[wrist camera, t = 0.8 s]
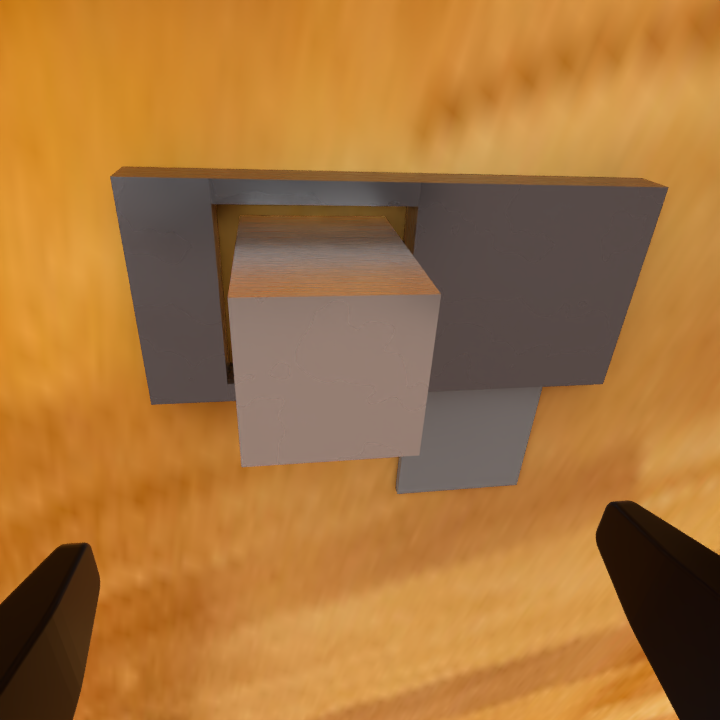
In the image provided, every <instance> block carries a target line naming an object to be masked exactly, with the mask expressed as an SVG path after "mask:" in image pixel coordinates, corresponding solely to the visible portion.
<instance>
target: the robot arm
mask: <svg viewBox="0 0 720 720" xmlns="http://www.w3.org/2000/svg"><path fill="white" fill-rule="evenodd" d="M596 542H597V546H598V549H599V551H600V554H601V556H602V559H603V561H604V563H605V566H606V568H607V571H608V573H609V576H610V578H611V580H612V583H613V585H614V588H615V590H616V593H617V595H618V598H619V600H620V602H621V605H622V607H623V610H624V612H625V614H626V617H627V619H628V621H629V623H630V626H631V628H632V630H633V632H634V634H635V636H636V638H637V640H638V642H639V644H640V645H641V647H642V649H643V651H644V653H645V655H646V657H647V659H648V661H649V663H650V665H651V666H652V668H653V670H654V672H655V674H656V676H657V678H658V680H659V682H660V684H661V686H662V687H663V689H664V691H665V693H666V695H667V697H668V699H669V701H670V703H671V705H672V707H673V708H674V710H675V712H676V714H677V716H678V718H679V720H720V555H718V554H717V553H715V552H713V551H712V550H710V549H709V548H707V547H705V546H704V545H702V544H701V543H699V542H697V541H696V540H694V539H693V538H691V537H689V536H688V535H686V534H685V533H683V532H681V531H680V530H678V529H677V528H675V527H673V526H672V525H670V524H669V523H667V522H665V521H664V520H662V519H661V518H659V517H657V516H656V515H654V514H653V513H651V512H649V511H648V510H646V509H645V508H643V507H642V506H640V505H638V504H637V503H635V502H633V501H615V502H610V503H609V504H608V505H607V506H606V508H605V511H604V513H603V516H602V518H601V521H600V523H599V526H598V528H597V531H596ZM99 591H100V576H99V572H98V569H97V565H96V562H95V558H94V555H93V552H92V548H91V546H90V545H89V544H88V543H71V544H63V545H60V546H59V547H57V548H56V549H55V550H54V551H53V552H52V553H51V554H50V555H49V556H48V557H47V558H46V559H45V560H44V561H43V562H42V563H41V564H40V565H39V566H38V567H37V568H36V569H35V570H34V571H33V572H32V573H31V574H30V575H29V576H28V577H27V578H26V579H25V580H24V581H23V582H22V583H21V584H20V585H19V586H18V587H17V588H16V589H15V590H14V591H13V592H12V593H11V594H10V595H9V596H8V597H7V598H6V599H5V600H4V601H3V602H2V603H1V604H0V720H73V717H74V714H75V710H76V707H77V703H78V699H79V696H80V692H81V688H82V683H83V678H84V673H85V667H86V662H87V656H88V651H89V646H90V640H91V635H92V629H93V624H94V618H95V613H96V607H97V602H98V596H99Z"/></svg>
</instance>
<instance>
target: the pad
mask: <svg viewBox="0 0 720 720" xmlns="http://www.w3.org/2000/svg"><path fill="white" fill-rule="evenodd" d="M541 391H542V387H525V388H504V389H482V390H460V391H438V392H428V395H427V402H426V410H425V417H424V424H423V432H422V439H421V446H420V454H419V456H404V457H399V463H398V472H397V481H396V491H397V494H403V493H416V492H429V491H442V490H455V489H468V488H481V487H494V486H507V485H517V481H518V477H519V473H520V469H521V466H522V462H523V458H524V454H525V451H526V447H527V443H528V439H529V436H530V432H531V428H532V424H533V421H534V417H535V413H536V409H537V406H538V402H539V398H540V394H541Z"/></svg>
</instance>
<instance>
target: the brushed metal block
mask: <svg viewBox="0 0 720 720" xmlns="http://www.w3.org/2000/svg"><path fill="white" fill-rule="evenodd" d="M440 299H441V293H440V292H439V291H438V289H437V288H436V287H435V285H434V284H433V282H432V281H431V280H430V278H429V277H428V276H427V274H426V273H425V271H424V270H423V269H422V267H421V266H420V264H419V263H418V262H417V260H416V259H415V258H414V256H413V255H412V253H411V252H410V251H409V249H408V248H407V247H406V245H405V244H404V242H403V241H402V240H401V238H400V237H399V236H398V234H397V233H396V231H395V230H394V229H393V227H392V226H391V225H390V223H389V222H388V220H387V219H386V218H385V217H376V216H254V215H240V218H239V225H238V232H237V238H236V245H235V252H234V258H233V265H232V272H231V279H230V285H229V292H228V308H229V320H230V332H231V345H232V357H233V369H234V381H235V393H236V405H237V417H238V429H239V441H240V454H241V466H242V467H253V466H268V465H283V464H298V463H313V462H328V461H343V460H358V459H374V458H389V457H404V456H419V454H420V446H421V439H422V432H423V424H424V417H425V410H426V402H427V395H428V388H429V380H430V373H431V366H432V358H433V351H434V343H435V336H436V329H437V321H438V314H439V307H440Z"/></svg>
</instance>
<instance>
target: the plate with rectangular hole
mask: <svg viewBox="0 0 720 720" xmlns="http://www.w3.org/2000/svg"><path fill="white" fill-rule="evenodd" d="M110 178H111V183H112V189H113V194H114V200H115V205H116V211H117V217H118V222H119V228H120V233H121V239H122V244H123V250H124V255H125V261H126V266H127V272H128V277H129V283H130V289H131V294H132V300H133V305H134V311H135V316H136V322H137V327H138V333H139V338H140V344H141V349H142V355H143V361H144V366H145V372H146V377H147V383H148V388H149V394H150V399H151V405H153V404H175V403H197V402H219V401H236V393H235V381H234V369H233V363H230V361H229V349H228V338H227V326H226V315H225V303H224V291H223V280H222V268H221V256H220V245H219V233H218V221H217V210H216V204H249V205H333V206H407V209H406V219H405V230H404V241H403V242H404V244H405V245H406V247H407V248H408V249H409V251H410V252H411V253H412V255H413V256H414V258H415V259H416V260H417V262H418V263H419V264H420V266H421V267H422V269H423V270H424V271H425V273H426V274H427V276H428V277H429V278H430V280H431V281H432V282H433V284H434V285H435V287H436V288H437V289H438V291H439V292H440V293H441V299H440V307H439V314H438V321H437V329H436V336H435V343H434V351H433V358H432V366H431V373H430V380H429V388H428V392H438V391H460V390H482V389H504V388H525V387H547V386H569V385H591V384H603V382H604V379H605V376H606V373H607V370H608V367H609V364H610V361H611V358H612V355H613V352H614V349H615V346H616V343H617V340H618V337H619V334H620V331H621V328H622V325H623V322H624V319H625V316H626V313H627V310H628V307H629V304H630V301H631V298H632V295H633V292H634V289H635V286H636V283H637V280H638V277H639V274H640V271H641V268H642V265H643V262H644V259H645V256H646V253H647V250H648V247H649V244H650V241H651V238H652V235H653V232H654V229H655V226H656V223H657V220H658V217H659V214H660V211H661V208H662V205H663V202H664V199H665V196H666V193H667V190H668V187H666V186H663V185H660V184H657V183H654V182H651V181H648V180H645V179H643V178H609V177H564V176H519V175H474V174H428V173H383V172H338V171H293V170H248V169H203V168H158V167H121V168H120V169H119V170H118V171H116V172H115V173H114V174H113V175H112V176H110Z"/></svg>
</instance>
